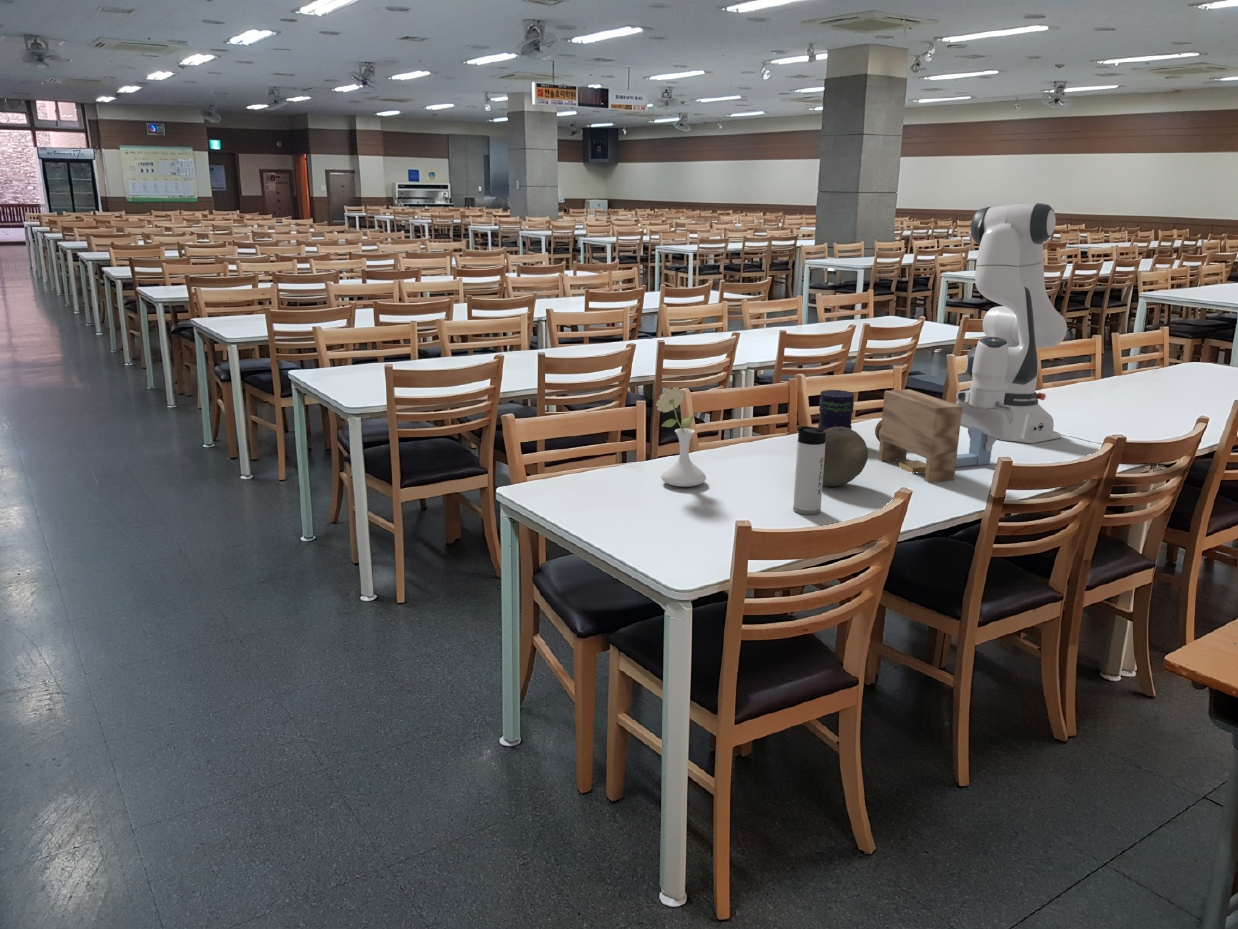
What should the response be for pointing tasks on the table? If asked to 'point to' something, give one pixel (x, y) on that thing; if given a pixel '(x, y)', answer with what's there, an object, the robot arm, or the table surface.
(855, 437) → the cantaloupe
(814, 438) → the travel mug
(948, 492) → the table surface
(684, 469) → the flower in vase
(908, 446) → the wooden bridge block
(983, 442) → the blue l-shaped bracket
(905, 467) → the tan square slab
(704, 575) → the table surface
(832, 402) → the storage jar
